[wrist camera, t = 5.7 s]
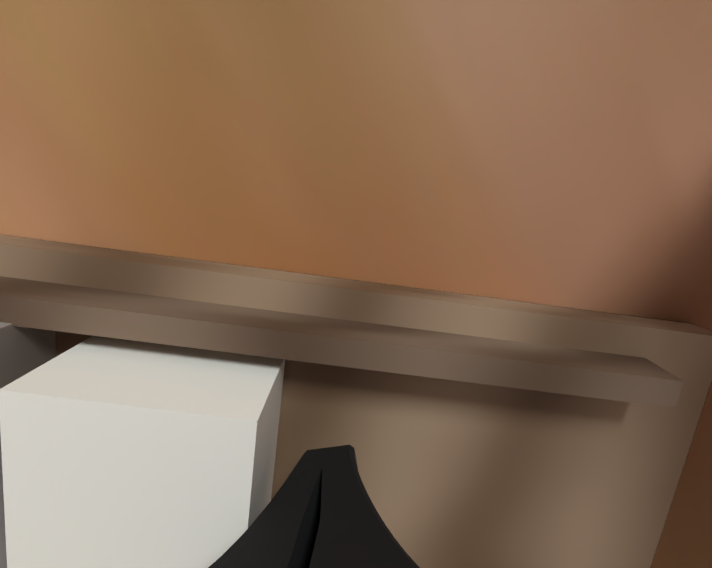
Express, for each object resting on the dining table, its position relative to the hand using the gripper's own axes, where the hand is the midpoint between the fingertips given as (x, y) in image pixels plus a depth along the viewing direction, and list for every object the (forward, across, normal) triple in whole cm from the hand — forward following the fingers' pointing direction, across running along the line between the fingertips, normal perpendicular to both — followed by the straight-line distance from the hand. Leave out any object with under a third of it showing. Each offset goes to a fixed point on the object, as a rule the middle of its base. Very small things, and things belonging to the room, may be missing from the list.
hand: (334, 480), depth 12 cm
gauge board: (+2, +1, +1) cm, 3 cm away
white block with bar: (+1, +5, +1) cm, 5 cm away
